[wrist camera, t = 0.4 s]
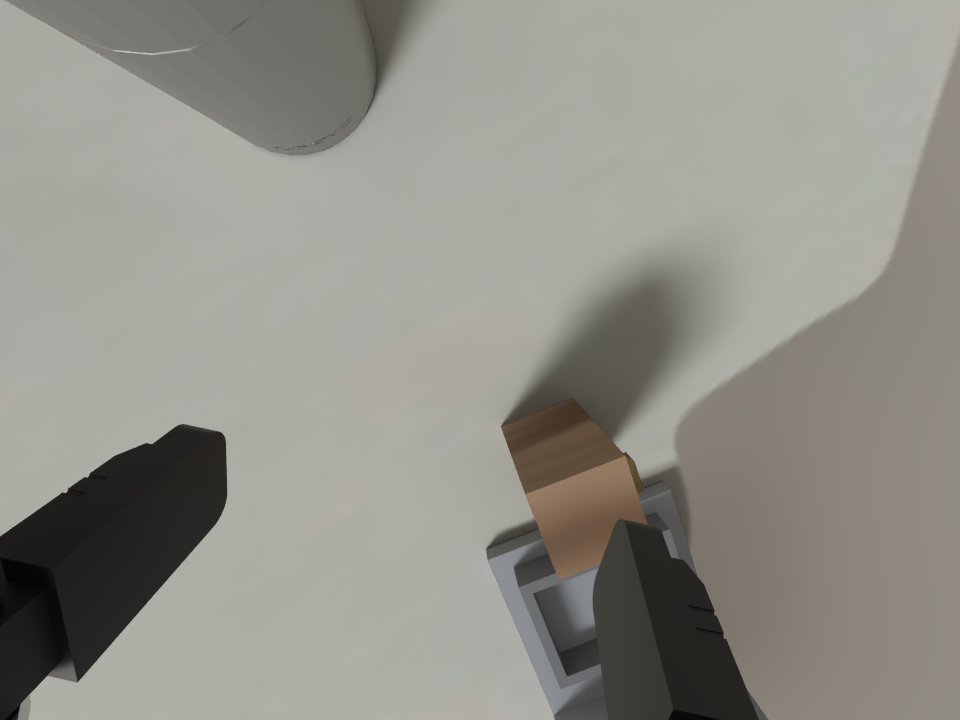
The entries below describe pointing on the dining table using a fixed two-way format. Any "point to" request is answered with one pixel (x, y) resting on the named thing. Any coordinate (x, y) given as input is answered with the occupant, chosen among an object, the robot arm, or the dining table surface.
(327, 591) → the dining table surface
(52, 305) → the dining table surface
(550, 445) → the walnut block
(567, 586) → the grey socket stand
